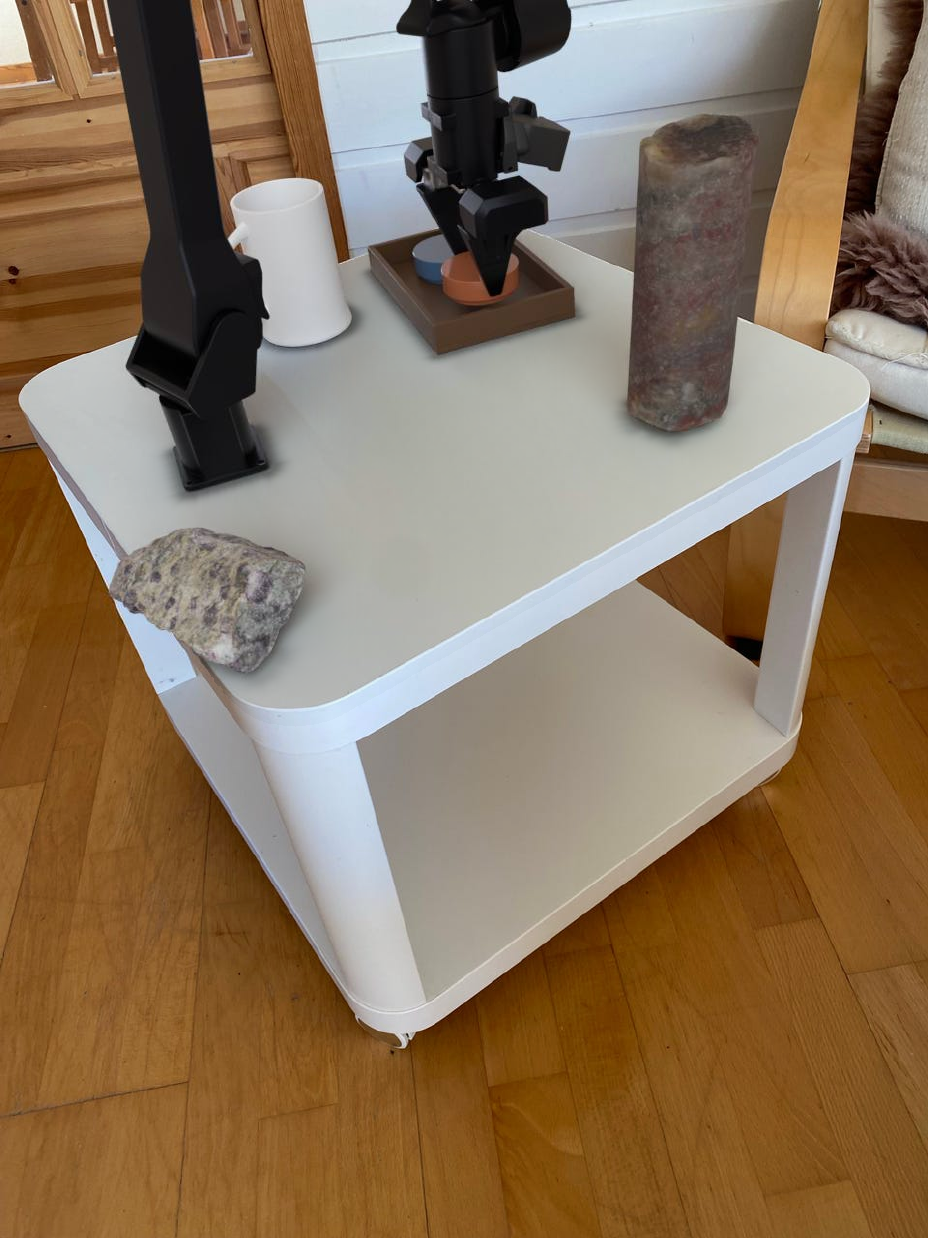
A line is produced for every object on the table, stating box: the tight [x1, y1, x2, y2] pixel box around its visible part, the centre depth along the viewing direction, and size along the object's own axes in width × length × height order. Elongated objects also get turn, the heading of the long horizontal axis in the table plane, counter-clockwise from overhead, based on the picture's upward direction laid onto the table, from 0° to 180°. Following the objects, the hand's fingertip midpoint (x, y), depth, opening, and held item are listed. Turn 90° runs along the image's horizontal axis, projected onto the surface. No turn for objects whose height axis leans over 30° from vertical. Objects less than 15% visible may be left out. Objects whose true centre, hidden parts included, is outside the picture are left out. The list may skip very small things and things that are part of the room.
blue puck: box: [413, 234, 454, 285], centre depth 92 cm, size 7×7×2 cm
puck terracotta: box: [441, 251, 520, 305], centre depth 85 cm, size 7×7×2 cm
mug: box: [227, 177, 353, 348], centre depth 84 cm, size 12×8×12 cm
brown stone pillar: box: [626, 113, 760, 433], centre depth 64 cm, size 8×7×20 cm
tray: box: [366, 227, 576, 356], centre depth 89 cm, size 20×13×3 cm, turn 21°
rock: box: [108, 527, 307, 674], centre depth 58 cm, size 13×6×10 cm
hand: (480, 279), depth 85 cm, fingers closed on puck terracotta, 7 cm apart
